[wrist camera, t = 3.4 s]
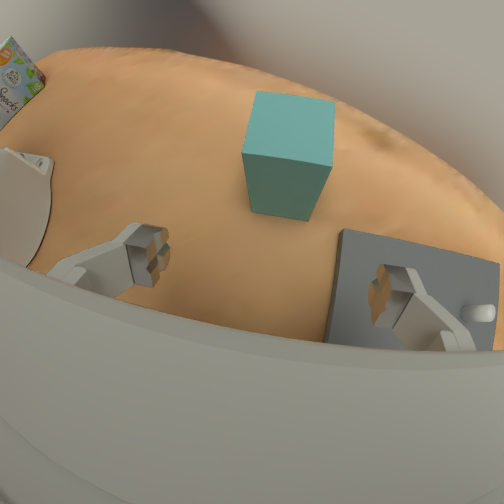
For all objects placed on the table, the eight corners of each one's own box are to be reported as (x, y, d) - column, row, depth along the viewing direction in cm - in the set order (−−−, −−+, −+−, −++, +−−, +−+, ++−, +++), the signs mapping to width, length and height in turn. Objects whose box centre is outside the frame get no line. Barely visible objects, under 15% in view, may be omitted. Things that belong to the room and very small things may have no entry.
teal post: (251, 212, 24) (241, 152, 14) (260, 163, 25) (256, 90, 15) (307, 221, 24) (332, 166, 14) (313, 171, 24) (334, 102, 15)
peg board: (298, 446, 20) (305, 478, 14) (339, 233, 23) (358, 212, 18) (459, 434, 18) (486, 449, 12) (491, 265, 21) (523, 257, 16)
